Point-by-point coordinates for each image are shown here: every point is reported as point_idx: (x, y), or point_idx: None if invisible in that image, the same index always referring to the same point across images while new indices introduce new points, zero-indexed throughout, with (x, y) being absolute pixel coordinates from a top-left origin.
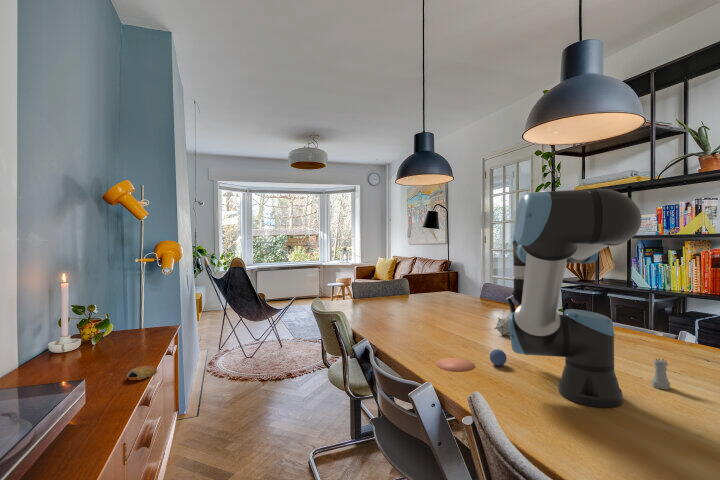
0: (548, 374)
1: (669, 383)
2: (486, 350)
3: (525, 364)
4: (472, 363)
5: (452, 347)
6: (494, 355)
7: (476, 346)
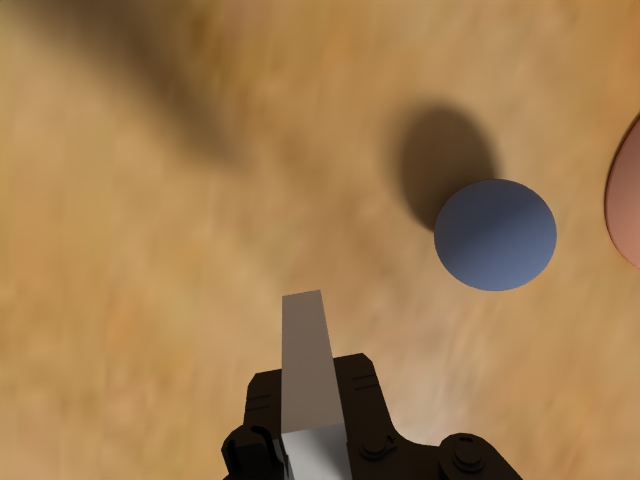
0: (185, 121)
1: None
2: (473, 431)
3: (304, 270)
4: (615, 206)
5: (635, 432)
6: (540, 202)
7: None
